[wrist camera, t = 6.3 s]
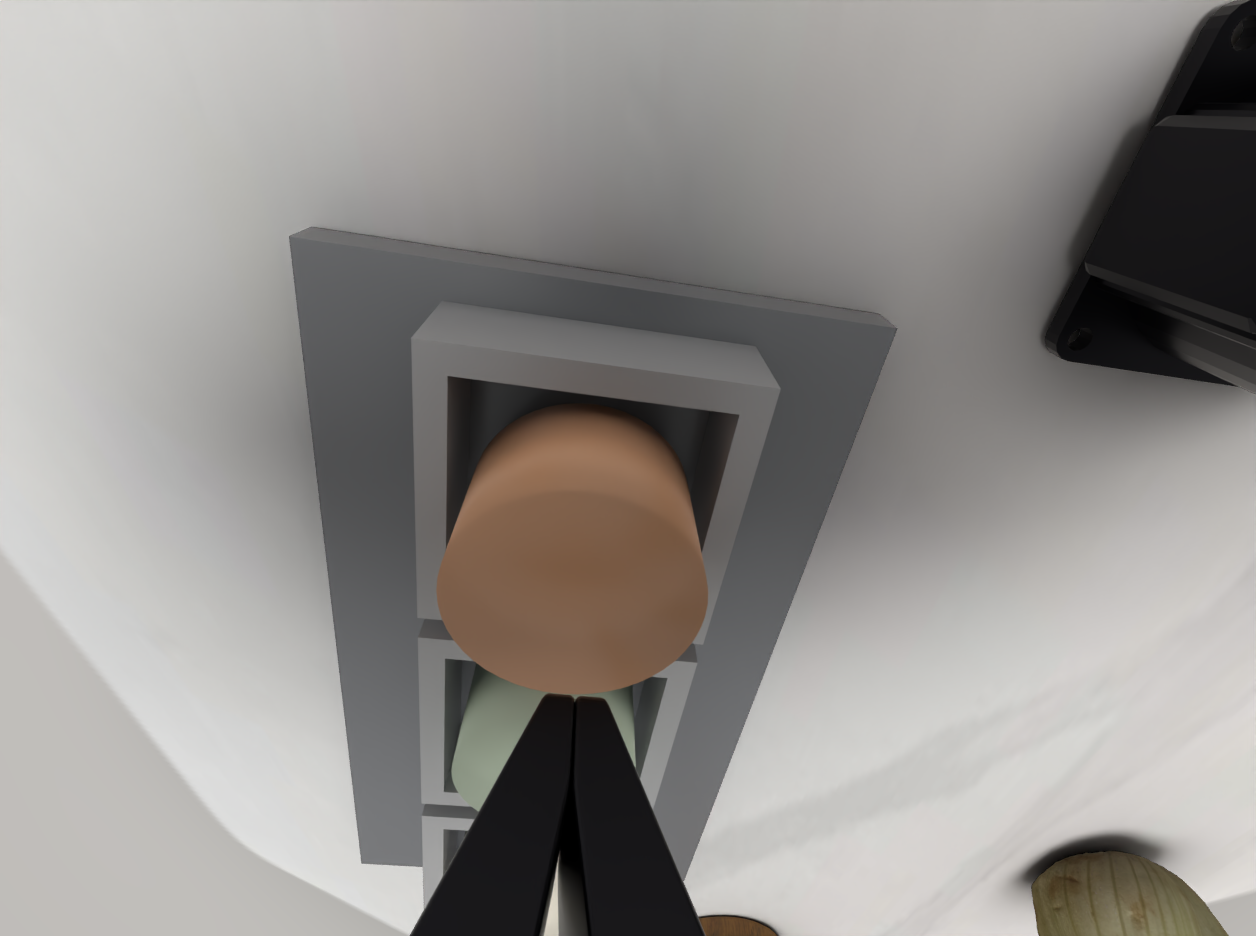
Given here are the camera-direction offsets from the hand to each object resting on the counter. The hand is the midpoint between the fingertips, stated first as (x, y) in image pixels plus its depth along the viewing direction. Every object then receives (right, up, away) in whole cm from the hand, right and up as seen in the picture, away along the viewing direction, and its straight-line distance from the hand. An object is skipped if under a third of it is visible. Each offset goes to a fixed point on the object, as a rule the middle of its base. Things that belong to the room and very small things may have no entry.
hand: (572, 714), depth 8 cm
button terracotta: (0, +3, +4) cm, 5 cm away
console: (-1, -2, +10) cm, 10 cm away
